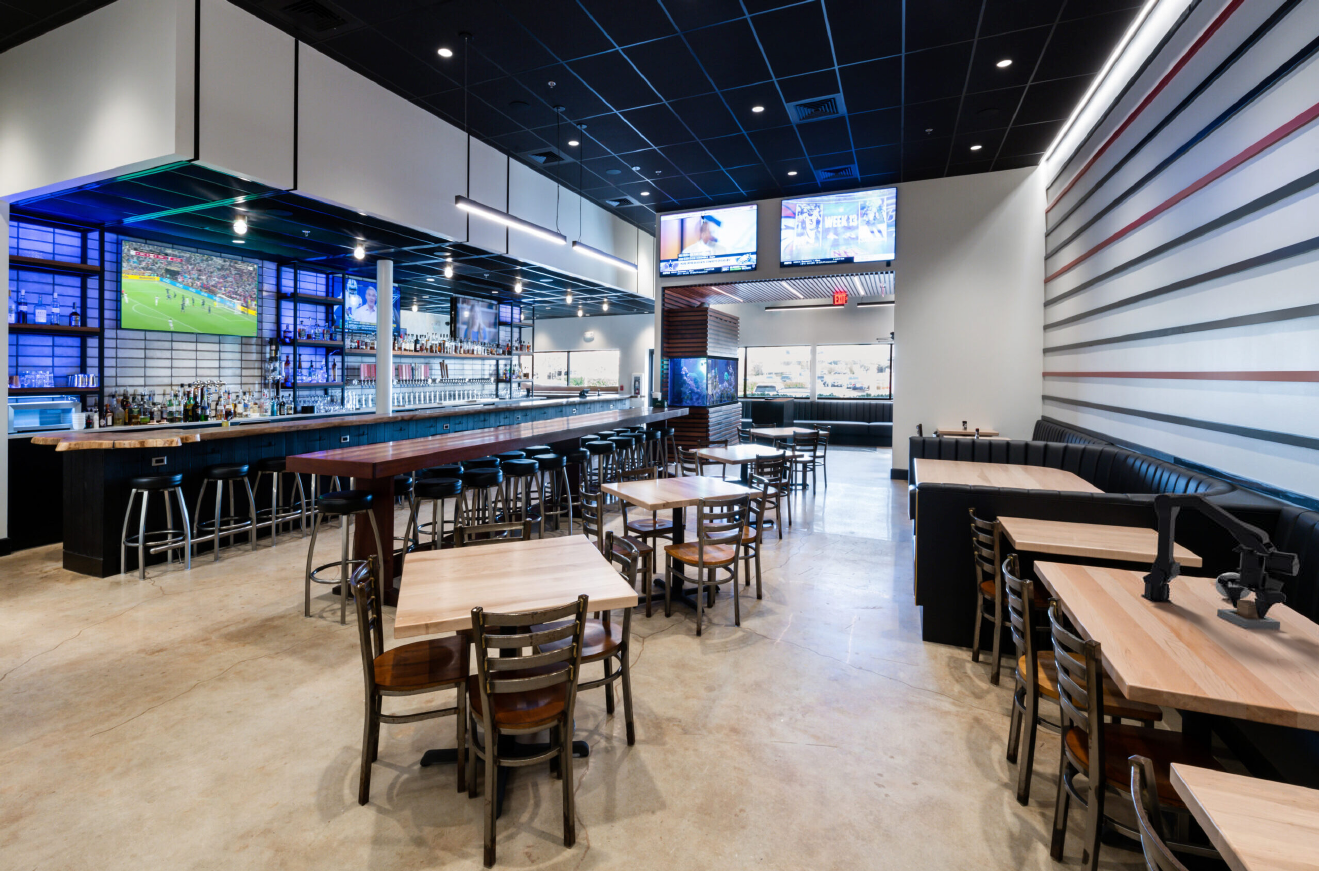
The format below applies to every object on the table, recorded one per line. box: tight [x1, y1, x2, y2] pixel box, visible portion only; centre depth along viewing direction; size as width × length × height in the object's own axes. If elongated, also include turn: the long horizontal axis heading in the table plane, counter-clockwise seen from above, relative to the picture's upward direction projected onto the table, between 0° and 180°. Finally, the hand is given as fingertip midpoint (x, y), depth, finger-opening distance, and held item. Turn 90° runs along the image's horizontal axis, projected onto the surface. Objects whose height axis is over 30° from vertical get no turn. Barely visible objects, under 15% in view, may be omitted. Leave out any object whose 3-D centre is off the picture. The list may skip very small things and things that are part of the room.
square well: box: [1216, 608, 1281, 630], centre depth 200 cm, size 11×11×2 cm
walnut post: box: [1236, 599, 1259, 619], centre depth 199 cm, size 4×4×7 cm
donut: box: [1214, 572, 1252, 600], centre depth 221 cm, size 10×4×10 cm, turn 56°
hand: (1248, 613), depth 199 cm, fingers open, 9 cm apart
